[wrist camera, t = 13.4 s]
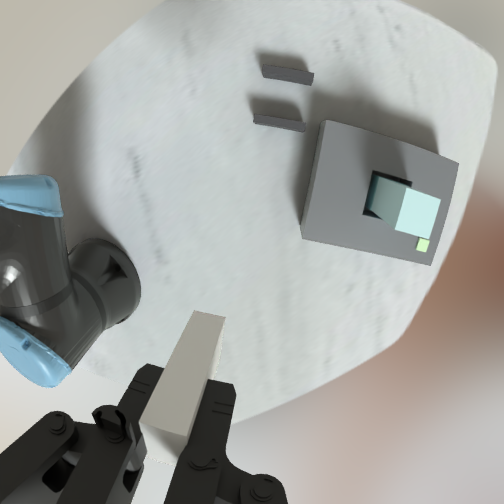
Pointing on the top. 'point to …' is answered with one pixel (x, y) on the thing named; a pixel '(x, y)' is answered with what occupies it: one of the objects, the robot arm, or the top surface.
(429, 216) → the plug
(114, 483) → the robot arm
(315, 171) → the port block
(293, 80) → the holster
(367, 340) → the top surface
